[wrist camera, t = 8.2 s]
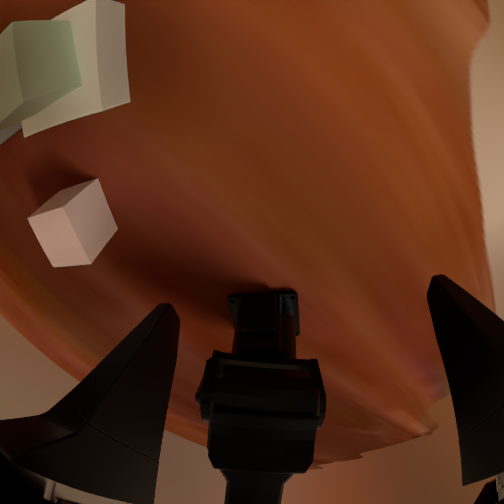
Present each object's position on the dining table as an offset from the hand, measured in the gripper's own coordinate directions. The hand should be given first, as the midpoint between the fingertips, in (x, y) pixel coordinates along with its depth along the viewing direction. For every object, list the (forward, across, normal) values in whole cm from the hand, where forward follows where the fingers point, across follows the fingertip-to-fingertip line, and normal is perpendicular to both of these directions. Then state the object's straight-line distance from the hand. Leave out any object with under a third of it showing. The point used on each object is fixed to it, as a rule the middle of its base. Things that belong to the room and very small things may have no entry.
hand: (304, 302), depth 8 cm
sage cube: (+8, +13, -12) cm, 20 cm away
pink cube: (+12, +17, 0) cm, 21 cm away
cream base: (+12, +13, -12) cm, 22 cm away
